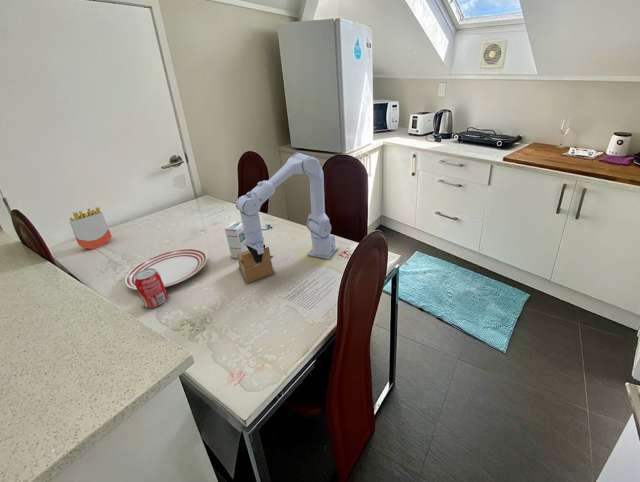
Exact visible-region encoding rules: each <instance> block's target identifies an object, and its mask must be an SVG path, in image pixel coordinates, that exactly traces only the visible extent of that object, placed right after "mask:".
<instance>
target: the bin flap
mask: <svg viewBox="0 0 640 482" xmlns="http://www.w3.org/2000/svg"><path fill="white" fill-rule="evenodd" d="M241 256H242V260H243V265H244V269H246V268H248V267H251V266H254V265H257V264H260V263H263V262H266V261H269V260H271V261H272V258H271V251H270V247H269V246H265V249H264V253H263V258H262V262H260V263H256V262H255V260H254V258H253V256H252V253H251V252H250V253H247V254H244V255H241Z"/></svg>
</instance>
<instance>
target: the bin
mask: <svg viewBox="0 0 640 482" xmlns="http://www.w3.org/2000/svg"><path fill="white" fill-rule="evenodd" d="M247 253H250V251H249V250H248V251H245V252H242V253H238V254H237V258H236V259H237V262H238V267H239V269H240V271H241V274H242V275H243V277H244V279H245V281H246V283H247V284H249V283H252V282H255V281H257V280H260V279H263V278H266V277H268V276H271V275H273V274H274V270H273V263H272V259H271V260H269V261H266V262H265V263H263V264H260V265H257V266H254V267H251V268H248V269H247V268H246V269H244V265H243V260H242V256H241V255H244V254H247Z"/></svg>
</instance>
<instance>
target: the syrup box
mask: <svg viewBox="0 0 640 482" xmlns="http://www.w3.org/2000/svg"><path fill="white" fill-rule="evenodd" d="M224 232H225V236H226V240H227V245H228V248H229V252H230V257H231V258H233V259H238V258H237V254H238V253H242V252H245V251H248V248H247V247H246V246H243V243H242V242H244V241H246V239H245V234H244V230H243V225H242V221H232V222H231V223H230V224H228V225H226V226H225V227H224Z"/></svg>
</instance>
